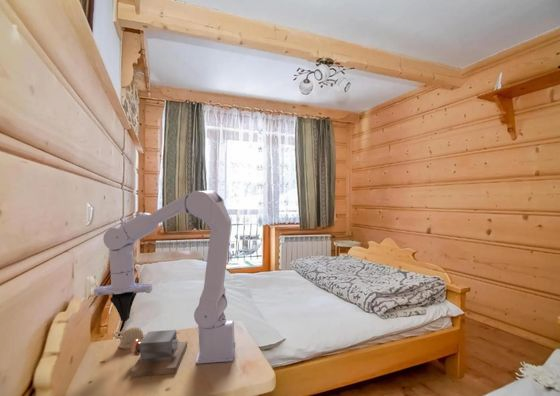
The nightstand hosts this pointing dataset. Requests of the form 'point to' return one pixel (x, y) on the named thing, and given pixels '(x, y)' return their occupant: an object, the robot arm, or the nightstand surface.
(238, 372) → the nightstand surface
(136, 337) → the cream ribbed curved piece
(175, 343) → the shaft
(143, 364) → the housing
